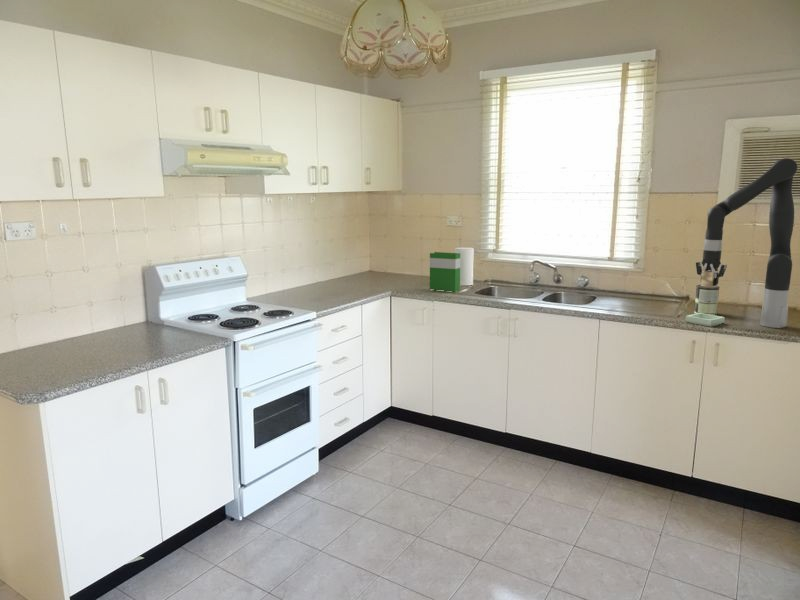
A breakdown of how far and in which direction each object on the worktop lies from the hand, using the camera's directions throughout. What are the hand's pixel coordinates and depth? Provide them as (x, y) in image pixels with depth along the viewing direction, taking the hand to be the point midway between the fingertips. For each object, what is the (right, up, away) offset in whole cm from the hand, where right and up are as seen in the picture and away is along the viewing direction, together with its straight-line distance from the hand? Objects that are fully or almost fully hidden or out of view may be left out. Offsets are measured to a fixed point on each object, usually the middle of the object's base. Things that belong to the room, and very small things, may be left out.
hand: (708, 284), depth 266 cm
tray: (-3, -18, -2) cm, 19 cm away
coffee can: (+8, -14, +18) cm, 25 cm away
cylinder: (-105, +2, +109) cm, 151 cm away
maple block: (0, -1, 0) cm, 1 cm away
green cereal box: (-120, -2, +88) cm, 148 cm away
